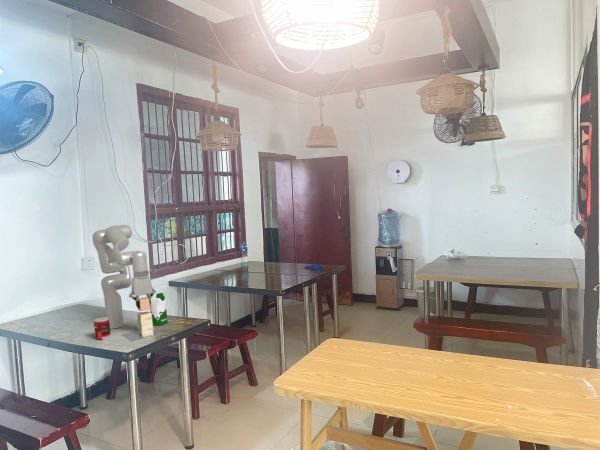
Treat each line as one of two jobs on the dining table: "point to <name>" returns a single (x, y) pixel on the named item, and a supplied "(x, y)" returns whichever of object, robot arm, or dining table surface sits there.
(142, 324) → the beech block mid
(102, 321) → the canned food
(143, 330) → the beech block base
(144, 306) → the terracotta block
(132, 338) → the slate board
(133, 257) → the robot arm
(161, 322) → the milk carton
